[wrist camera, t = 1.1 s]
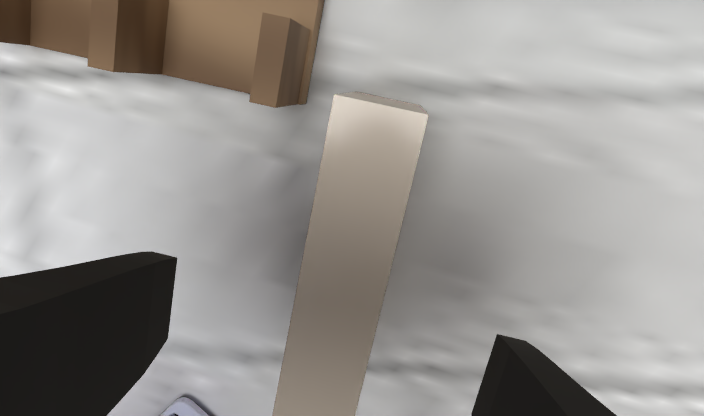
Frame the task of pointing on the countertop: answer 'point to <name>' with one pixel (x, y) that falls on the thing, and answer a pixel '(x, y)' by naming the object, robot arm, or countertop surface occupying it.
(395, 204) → the clay slab
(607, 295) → the countertop surface
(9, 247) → the countertop surface
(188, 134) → the countertop surface
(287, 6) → the pegged wooden tray
